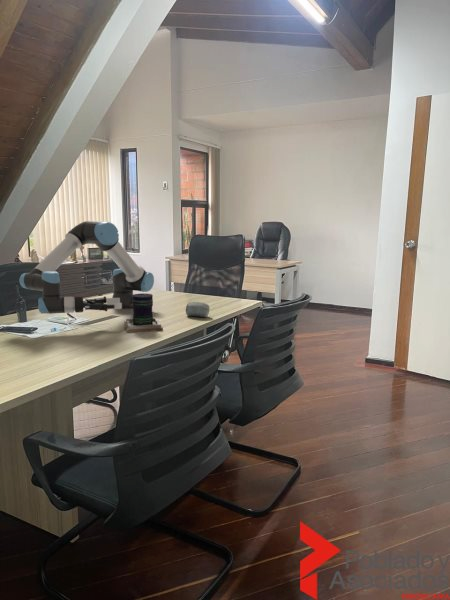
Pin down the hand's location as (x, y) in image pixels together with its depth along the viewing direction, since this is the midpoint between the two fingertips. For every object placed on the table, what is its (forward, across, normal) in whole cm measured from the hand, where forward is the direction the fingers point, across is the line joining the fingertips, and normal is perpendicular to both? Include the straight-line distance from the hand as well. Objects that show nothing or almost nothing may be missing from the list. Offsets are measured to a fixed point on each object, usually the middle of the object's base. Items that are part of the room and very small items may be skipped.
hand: (120, 303), depth 207 cm
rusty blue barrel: (+10, 0, -12) cm, 16 cm away
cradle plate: (+11, 0, -12) cm, 16 cm away
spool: (+43, -18, -13) cm, 48 cm away
